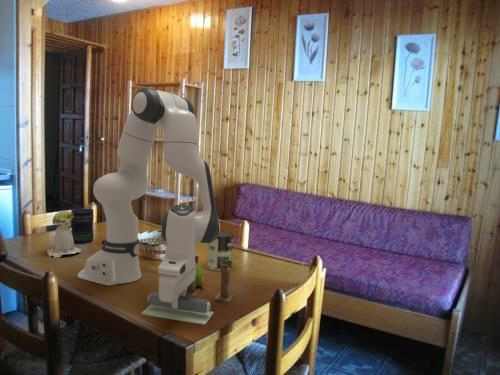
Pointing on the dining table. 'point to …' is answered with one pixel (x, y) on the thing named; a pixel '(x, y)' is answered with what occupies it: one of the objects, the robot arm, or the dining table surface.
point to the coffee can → (220, 250)
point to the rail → (182, 303)
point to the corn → (199, 277)
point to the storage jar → (82, 225)
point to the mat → (178, 314)
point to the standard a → (193, 286)
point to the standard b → (225, 283)
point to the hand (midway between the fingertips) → (178, 304)
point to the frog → (63, 235)
